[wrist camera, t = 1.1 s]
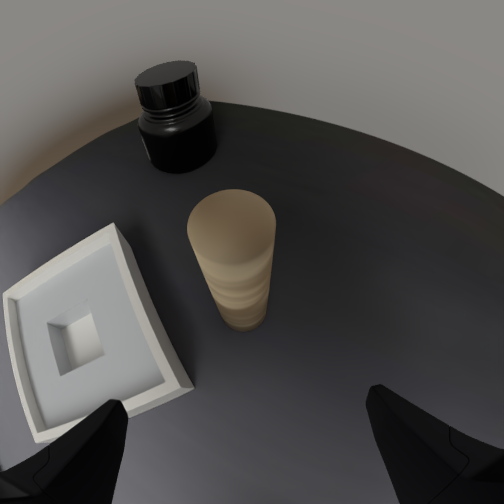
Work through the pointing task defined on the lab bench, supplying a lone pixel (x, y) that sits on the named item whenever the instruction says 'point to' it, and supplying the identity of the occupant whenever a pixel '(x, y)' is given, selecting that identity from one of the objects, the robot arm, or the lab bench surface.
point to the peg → (235, 253)
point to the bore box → (88, 337)
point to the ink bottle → (175, 117)
